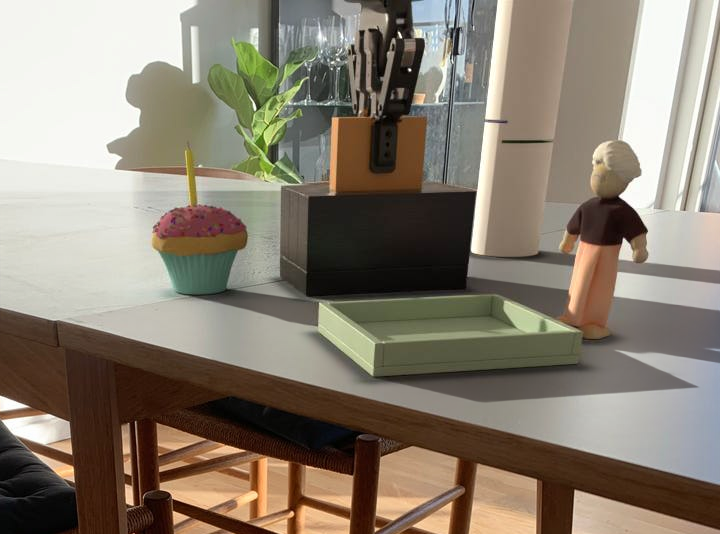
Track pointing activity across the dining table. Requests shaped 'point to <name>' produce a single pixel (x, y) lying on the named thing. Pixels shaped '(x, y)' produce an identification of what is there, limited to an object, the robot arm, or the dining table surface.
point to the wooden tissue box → (375, 239)
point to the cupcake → (198, 242)
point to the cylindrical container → (520, 125)
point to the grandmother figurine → (602, 239)
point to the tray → (446, 334)
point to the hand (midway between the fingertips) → (377, 170)
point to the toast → (355, 155)
